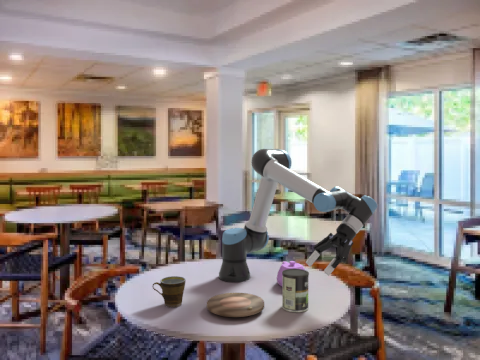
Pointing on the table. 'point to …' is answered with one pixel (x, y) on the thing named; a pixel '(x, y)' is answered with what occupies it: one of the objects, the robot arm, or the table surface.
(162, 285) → the ceramic cup
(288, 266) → the teapot
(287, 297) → the coffee can
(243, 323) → the table surface
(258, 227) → the robot arm
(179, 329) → the table surface
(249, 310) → the turntable
